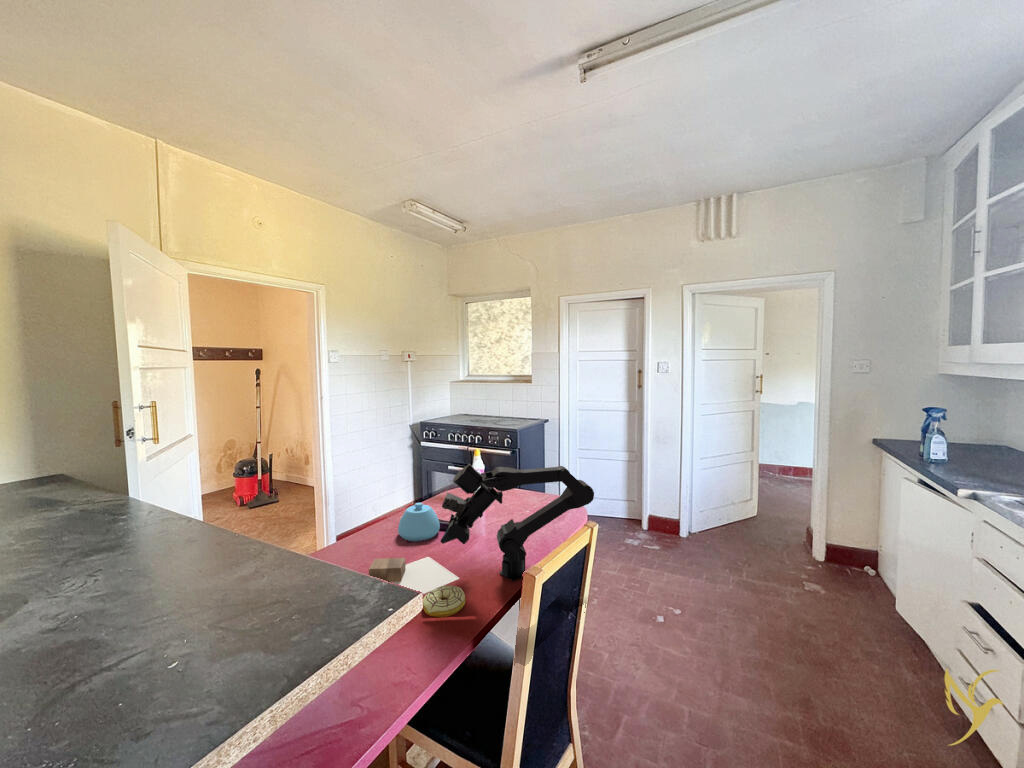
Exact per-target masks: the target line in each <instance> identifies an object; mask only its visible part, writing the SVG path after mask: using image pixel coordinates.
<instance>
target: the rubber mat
mask: <svg viewBox="0 0 1024 768" xmlns="http://www.w3.org/2000/svg"><path fill="white" fill-rule="evenodd" d="M460 579H461V578H460V577H458V576H457V575H456V574H454V573H452V571H450V570H448V569H447V568H446V567H444V566H443V565H441V564H440V563H439V562H437V561H436V560H434V559H433V558H432V557H430V556H426V557H423V558H421V559H420V558H419V559H418V560H415V561H412V562H408V563H407V564H406V563H405V573H404V576H403V578H402V581H401V582H393V583H395V584H399V585H401V586H404V587H407V588H410V589H413V590H416V591H420V592H422V593H423V595H426V594H428V593H429V592H430V591H432V590H434V589H436V588H438V587H441V586H446V585H448V584H450V583H451V584H452V583H453V582H455V581H457V580H460Z"/></svg>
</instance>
